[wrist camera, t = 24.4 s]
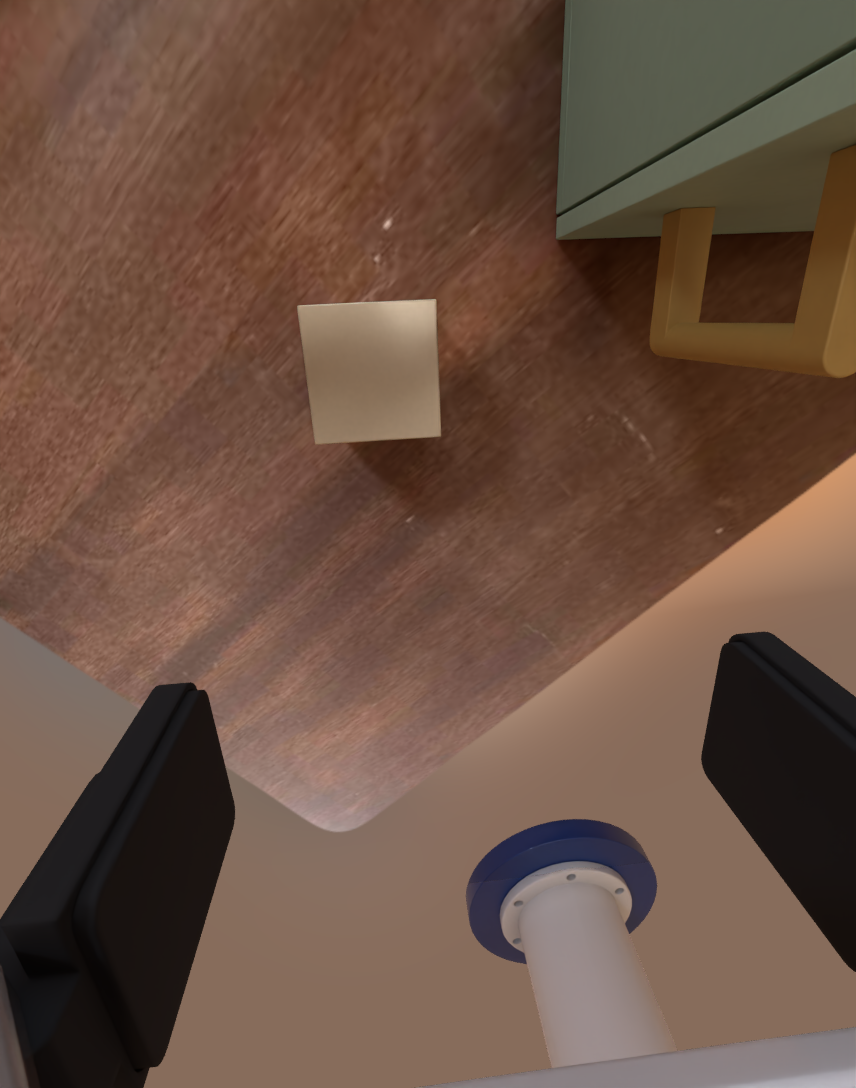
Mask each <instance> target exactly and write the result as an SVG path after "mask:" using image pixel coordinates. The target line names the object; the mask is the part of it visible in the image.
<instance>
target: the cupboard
mask: <svg viewBox="0 0 856 1088" xmlns="http://www.w3.org/2000/svg"><path fill="white" fill-rule="evenodd" d="M855 49H856V0H566V1H565V24H564V47H563V70H562V93H561V115H560V138H559V161H558V184H557V207H556V214H557V215H560V214H565V213H567V212H569V211H571V210H572V209H574V208H576V207H578V206H579V205H581V204H583V203H585V202H587V201H588V200H590V199H592V198H594V197H595V196H597V195H599V194H601V193H602V192H604V191H606V190H608V189H610V188H611V187H613V186H615V185H617V184H618V183H620V182H622V181H624V180H625V179H627V178H629V177H631V176H633V175H634V174H636V173H638V172H640V171H641V170H643V169H645V168H647V167H648V166H650V165H652V164H654V163H656V162H657V161H659V160H661V159H663V158H664V157H666V156H668V155H670V154H671V153H673V152H675V151H677V150H679V149H680V148H682V147H684V146H686V145H687V144H689V143H691V142H693V141H694V140H696V139H698V138H700V137H702V136H703V135H705V134H707V133H709V132H710V131H712V130H714V129H716V128H717V127H719V126H721V125H723V124H725V123H726V122H728V121H730V120H732V119H733V118H735V117H737V116H739V115H740V114H742V113H744V112H746V111H748V110H749V109H751V108H753V107H755V106H756V105H758V104H760V103H762V102H763V101H765V100H767V99H769V98H771V97H772V96H774V95H776V94H778V93H779V92H781V91H783V90H785V89H786V88H788V87H790V86H792V85H794V84H795V83H797V82H799V81H801V80H802V79H804V78H806V77H808V76H809V75H811V74H813V73H815V72H817V71H818V70H820V69H822V68H824V67H825V66H827V65H829V64H831V63H832V62H834V61H836V60H838V59H840V58H841V57H843V56H845V55H847V54H848V53H850V52H852V51H854V50H855Z"/></svg>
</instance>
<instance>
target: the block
mask: <svg viewBox="0 0 856 1088" xmlns="http://www.w3.org/2000/svg"><path fill="white" fill-rule="evenodd" d="M297 310H298V318H299V325H300V333H301V341H302V348H303V356H304V364H305V371H306V379H307V387H308V395H309V402H310V410H311V418H312V425H313V433H314V441H315V444H316V445H320V444H335V443H351V442H366V441H382V440H397V439H413V438H429V437H440V436H441V415H440V387H439V359H438V330H437V302H436V299H426V300H405V301H383V302H362V303H340V304H319V305H299V306H297Z"/></svg>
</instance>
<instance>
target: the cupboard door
mask: <svg viewBox="0 0 856 1088" xmlns="http://www.w3.org/2000/svg"><path fill="white" fill-rule="evenodd" d="M797 231H814V235H813V239H812V244H811V249H810V253H809V258H808V263H807V267H806V272H805V277H804V281H803V286H802V291H801V295H800V300H799V305H798V309H797V314H796V319H795V323H699V317H700V311H701V304H702V297H703V290H704V284H705V277H706V270H707V263H708V257H709V250H710V243H711V236H712V234H739V233H768V232H797ZM652 236H661V243H660V252H659V261H658V269H657V278H656V287H655V295H654V304H653V313H652V321H651V330H650V348H651V350H652V352H653V353H654V354H656V355H658V356H663V357H671V358H679V359H687V360H695V361H703V362H711V363H720V364H728V365H736V366H744V367H752V368H760V369H768V370H776V371H785V372H793V373H801V374H809V375H817V376H825V377H833V378H843V377H847V376H849V375H852V374H854V373H855V372H856V49H855V50H854V51H852V52H850V53H848V54H847V55H845V56H843V57H841V58H840V59H838V60H836V61H834V62H832V63H831V64H829V65H827V66H825V67H824V68H822V69H820V70H818V71H817V72H815V73H813V74H811V75H809V76H808V77H806V78H804V79H802V80H801V81H799V82H797V83H795V84H794V85H792V86H790V87H788V88H786V89H785V90H783V91H781V92H779V93H778V94H776V95H774V96H772V97H771V98H769V99H767V100H765V101H763V102H762V103H760V104H758V105H756V106H755V107H753V108H751V109H749V110H748V111H746V112H744V113H742V114H740V115H739V116H737V117H735V118H733V119H732V120H730V121H728V122H726V123H725V124H723V125H721V126H719V127H717V128H716V129H714V130H712V131H710V132H709V133H707V134H705V135H703V136H702V137H700V138H698V139H696V140H694V141H693V142H691V143H689V144H687V145H686V146H684V147H682V148H680V149H679V150H677V151H675V152H673V153H671V154H670V155H668V156H666V157H664V158H663V159H661V160H659V161H657V162H656V163H654V164H652V165H650V166H648V167H647V168H645V169H643V170H641V171H640V172H638V173H636V174H634V175H633V176H631V177H629V178H627V179H625V180H624V181H622V182H620V183H618V184H617V185H615V186H613V187H611V188H610V189H608V190H606V191H604V192H602V193H601V194H599V195H597V196H595V197H594V198H592V199H590V200H588V201H587V202H585V203H583V204H581V205H579V206H578V207H576V208H574V209H572V210H571V211H569V212H567V213H565V214H564V215H562V216H560V217H558V218H557V228H556V239H557V240H565V239H594V238H623V237H652Z"/></svg>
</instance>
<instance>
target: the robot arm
mask: <svg viewBox="0 0 856 1088" xmlns="http://www.w3.org/2000/svg"><path fill="white" fill-rule="evenodd" d="M701 760H702V765H703V769H704V771H705V774H706V776H707V777H708V779H709V780H710V781H711V783H712V784H713V785H714V787H715V788H716V790H717V791H718V792H719V793H720V795H721V796H722V798H723V799H724V800H725V802H726V803H727V804H728V806H729V807H730V808H731V810H732V811H733V812H734V814H735V815H736V817H737V818H738V819H739V820H740V822H741V823H742V825H743V826H744V827H745V829H746V830H747V831H748V833H749V834H750V835H751V837H752V838H753V839H754V841H755V842H756V844H757V845H758V846H759V847H760V849H761V850H762V852H763V853H764V854H765V856H766V857H767V858H768V860H769V861H770V862H771V864H772V865H773V866H774V868H775V869H776V870H777V872H778V873H779V874H780V876H781V877H782V879H783V880H784V881H785V883H786V884H787V885H788V887H789V888H790V889H791V891H792V892H793V893H794V895H795V896H796V897H797V899H798V900H799V901H800V903H801V904H802V905H803V907H804V908H805V910H806V911H807V912H808V914H809V915H810V916H811V917H812V919H813V920H814V922H815V923H816V924H817V926H818V927H819V928H820V930H821V931H822V933H823V934H824V935H825V937H826V938H827V939H828V941H829V942H830V943H831V945H832V946H833V947H834V949H835V950H836V951H837V953H838V954H839V955H840V956H841V958H842V959H843V961H844V962H845V963H846V964H847V965H848V966H849V967H850V968H851V969H852V970H853V971H855V972H856V697H855V696H854V695H852V694H851V693H850V692H848V691H847V690H845V689H844V688H843V687H842V686H840V685H839V684H838V683H836V682H835V681H834V680H833V679H831V678H830V677H829V676H827V675H826V674H825V673H823V672H822V671H821V670H819V669H818V668H817V667H815V666H814V665H813V664H811V663H810V662H809V661H808V660H806V659H805V658H804V657H802V656H801V655H800V654H798V653H797V652H796V651H794V650H793V649H792V648H790V647H789V646H788V645H787V644H785V643H784V642H783V641H781V640H780V639H779V638H777V637H776V636H775V635H773V634H771V633H769V632H756V633H744V634H736V635H733V636H732V637H731V638H730V640H729V643H726V644H724V645H723V647H722V649H721V653H720V659H719V664H718V669H717V675H716V680H715V686H714V691H713V696H712V701H711V707H710V712H709V717H708V724H707V728H706V734H705V739H704V744H703V750H702V758H701ZM234 820H235V806H234V800H233V796H232V792H231V789H230V784H229V780H228V776H227V772H226V768H225V763H224V759H223V755H222V751H221V747H220V743H219V739H218V735H217V731H216V727H215V723H214V719H213V714H212V710H211V706H210V702H209V698H208V695H207V693H206V691H205V690H197V688H196V686H195V685H194V684H193V683H191V682H190V683H179V684H168V685H159V686H156V687H155V688H154V689H153V690H152V692H151V693H150V695H149V697H148V698H147V700H146V701H145V703H144V704H143V706H142V708H141V709H140V711H139V712H138V714H137V716H136V717H135V718H134V720H133V722H132V723H131V725H130V726H129V728H128V729H127V731H126V733H125V734H124V736H123V737H122V739H121V740H120V742H119V743H118V745H117V747H116V748H115V750H114V751H113V753H112V754H111V756H110V758H109V759H108V761H107V762H106V764H105V765H104V767H103V769H102V770H101V772H99V773H98V774H96V775H95V776H94V777H93V779H92V780H91V781H90V782H89V784H88V785H87V787H86V788H85V790H84V791H83V793H82V794H81V796H80V797H79V799H78V800H77V802H76V803H75V805H74V807H73V808H72V810H71V811H70V813H69V814H68V816H67V817H66V819H65V820H64V822H63V823H62V825H61V827H60V828H59V830H58V831H57V833H56V834H55V836H54V837H53V839H52V841H51V842H50V843H49V845H48V847H47V848H46V850H45V851H44V853H43V854H42V856H41V857H40V859H39V860H38V862H37V864H36V865H35V867H34V868H33V870H32V871H31V873H30V874H29V876H28V877H27V879H26V880H25V882H24V883H23V885H22V886H21V888H20V890H19V891H18V893H17V894H16V896H15V897H14V899H13V900H12V902H11V903H10V905H9V907H8V908H7V910H6V911H5V913H4V914H3V916H2V917H1V919H0V1088H143V1087H144V1084H145V1080H146V1077H147V1074H148V1071H149V1068H150V1067H157V1066H158V1065H159V1064H160V1063H161V1062H162V1060H163V1057H164V1056H165V1053H166V1050H167V1047H168V1044H169V1041H170V1037H171V1034H172V1031H173V1027H174V1024H175V1021H176V1017H177V1014H178V1010H179V1007H180V1004H181V1001H182V997H183V994H184V991H185V987H186V984H187V980H188V977H189V974H190V970H191V967H192V964H193V960H194V957H195V953H196V950H197V946H198V944H199V940H200V937H201V934H202V930H203V927H204V924H205V920H206V916H207V913H208V910H209V907H210V903H211V900H212V896H213V893H214V890H215V887H216V883H217V879H218V876H219V873H220V870H221V866H222V863H223V860H224V856H225V853H226V850H227V846H228V843H229V840H230V836H231V833H232V830H233V826H234ZM631 908H632V898H631V894H630V891H629V889H628V887H627V885H626V883H625V881H624V879H623V878H622V877H621V876H620V874H619V873H617V872H616V871H614V870H613V869H611V868H609V867H607V866H604V865H602V864H598V863H594V862H587V861H571V862H563V863H558V864H554V865H550V866H547V867H545V868H542V869H539V870H537V871H535V872H533V873H531V874H529V875H528V876H526V877H525V878H523V879H522V880H521V881H519V882H518V883H517V884H516V885H515V886H514V887H513V888H512V889H511V890H510V891H509V893H508V894H507V895H506V897H505V898H504V901H503V903H502V905H501V909H500V922H501V927H502V931H503V934H504V936H505V938H506V939H507V941H508V942H509V943H510V944H511V945H512V946H513V947H514V948H516V949H518V950H520V951H522V952H523V953H525V958H526V962H527V966H528V970H529V974H530V979H531V983H532V987H533V991H534V995H535V1000H536V1004H537V1008H538V1013H539V1017H540V1021H541V1025H542V1029H543V1034H544V1038H545V1042H546V1047H547V1050H548V1055H549V1059H550V1063H551V1067H552V1068H550V1069H543V1070H536V1071H528V1072H521V1073H514V1074H507V1075H500V1076H492V1077H486V1078H479V1079H472V1080H465V1081H458V1082H451V1083H444V1084H437V1085H430V1086H424V1087H417V1088H856V1027H853V1028H845V1029H838V1030H830V1031H822V1032H816V1033H808V1034H801V1035H792V1036H785V1037H777V1038H769V1039H762V1040H754V1041H746V1042H739V1043H732V1044H724V1045H717V1046H710V1047H703V1048H695V1049H688V1050H681V1051H678V1050H677V1048H676V1045H675V1043H674V1041H673V1038H672V1036H671V1033H670V1031H669V1028H668V1026H667V1024H666V1021H665V1019H664V1016H663V1014H662V1012H661V1009H660V1007H659V1004H658V1002H657V1000H656V997H655V995H654V993H653V990H652V988H651V985H650V983H649V981H648V978H647V976H646V973H645V971H644V969H643V966H642V964H641V961H640V959H639V957H638V954H637V952H636V949H635V947H634V945H633V942H632V940H631V937H630V935H629V933H628V930H627V928H626V925H625V922H626V921H627V919H628V917H629V915H630V912H631Z"/></svg>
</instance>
